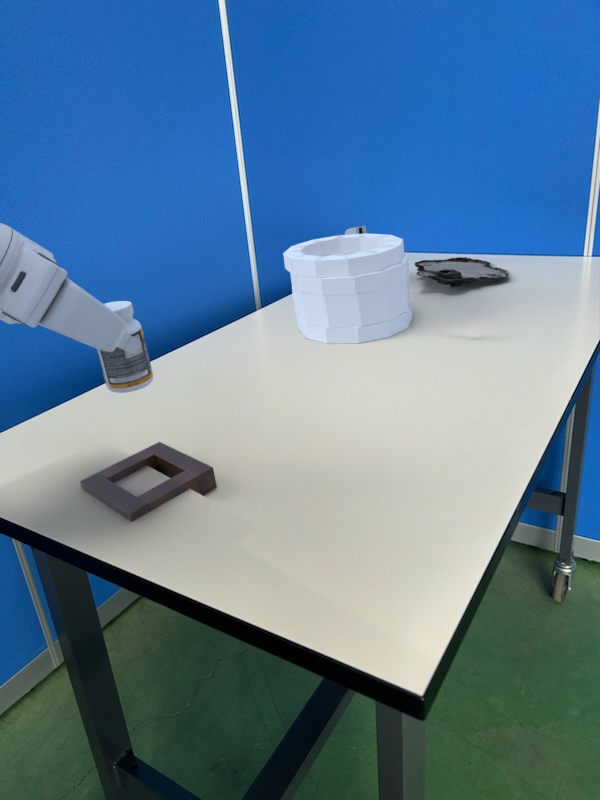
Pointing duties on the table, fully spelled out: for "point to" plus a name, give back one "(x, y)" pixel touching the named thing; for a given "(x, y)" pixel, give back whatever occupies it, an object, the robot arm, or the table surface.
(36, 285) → the robot arm
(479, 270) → the scrap metal
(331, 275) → the container
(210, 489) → the frame
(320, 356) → the table surface
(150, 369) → the pill bottle
